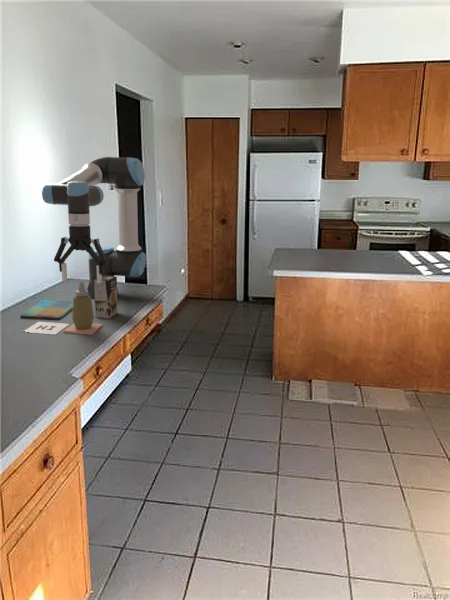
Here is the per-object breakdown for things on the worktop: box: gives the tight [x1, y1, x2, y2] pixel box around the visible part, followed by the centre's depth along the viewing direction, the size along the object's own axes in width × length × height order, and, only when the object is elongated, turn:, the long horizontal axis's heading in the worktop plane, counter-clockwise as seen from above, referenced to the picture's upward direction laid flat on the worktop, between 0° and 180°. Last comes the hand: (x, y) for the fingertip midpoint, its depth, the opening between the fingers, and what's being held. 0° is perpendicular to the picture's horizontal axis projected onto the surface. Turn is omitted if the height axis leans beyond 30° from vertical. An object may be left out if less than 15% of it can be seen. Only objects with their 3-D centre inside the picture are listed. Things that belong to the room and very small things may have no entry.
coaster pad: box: [63, 322, 103, 335], centre depth 194 cm, size 11×11×1 cm
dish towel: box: [19, 299, 73, 321], centre depth 216 cm, size 17×23×2 cm
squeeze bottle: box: [71, 280, 95, 329], centre depth 192 cm, size 8×8×18 cm
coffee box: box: [94, 275, 118, 319], centre depth 211 cm, size 9×6×16 cm
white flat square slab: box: [23, 321, 70, 336], centre depth 194 cm, size 13×13×1 cm
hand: (82, 281), depth 190 cm, fingers open, 13 cm apart
